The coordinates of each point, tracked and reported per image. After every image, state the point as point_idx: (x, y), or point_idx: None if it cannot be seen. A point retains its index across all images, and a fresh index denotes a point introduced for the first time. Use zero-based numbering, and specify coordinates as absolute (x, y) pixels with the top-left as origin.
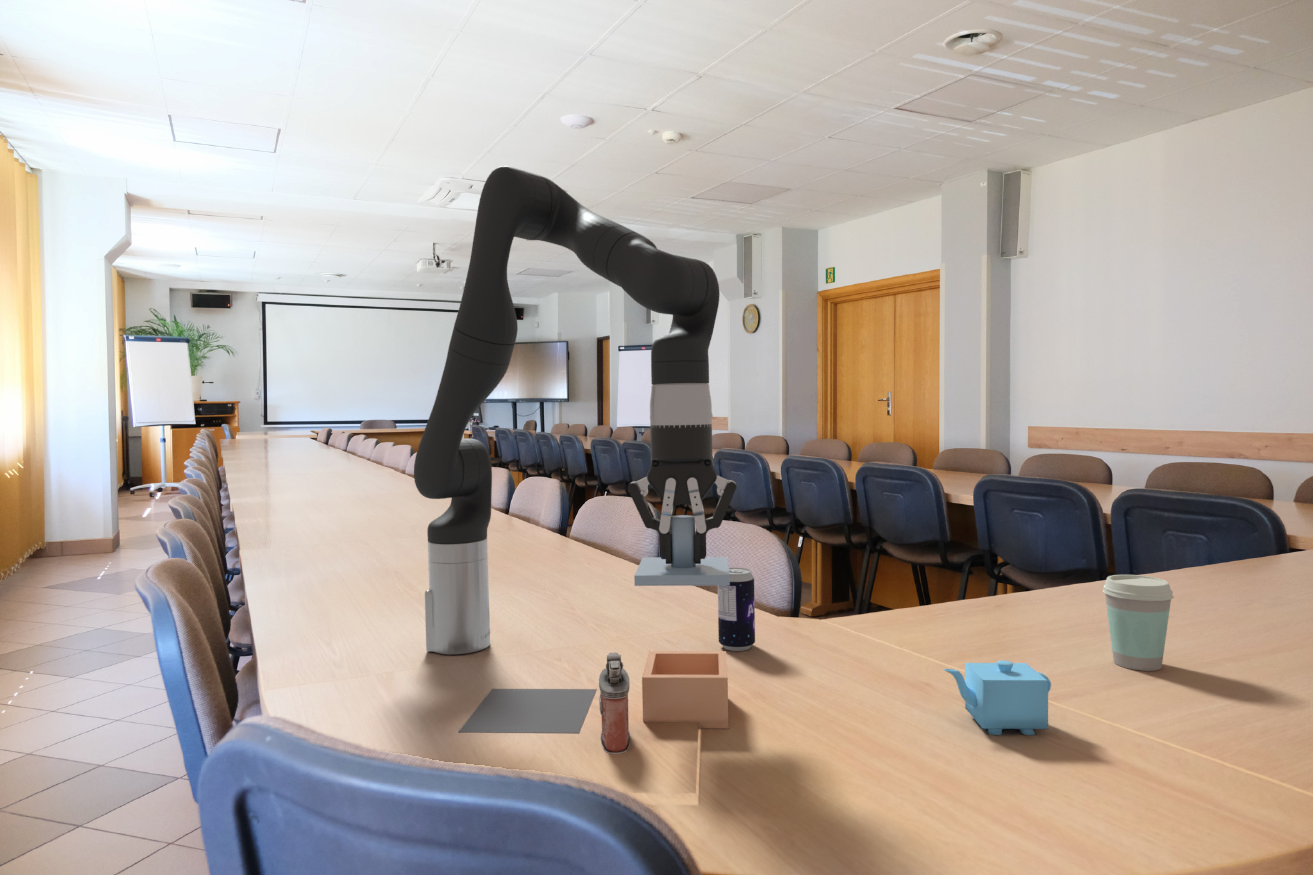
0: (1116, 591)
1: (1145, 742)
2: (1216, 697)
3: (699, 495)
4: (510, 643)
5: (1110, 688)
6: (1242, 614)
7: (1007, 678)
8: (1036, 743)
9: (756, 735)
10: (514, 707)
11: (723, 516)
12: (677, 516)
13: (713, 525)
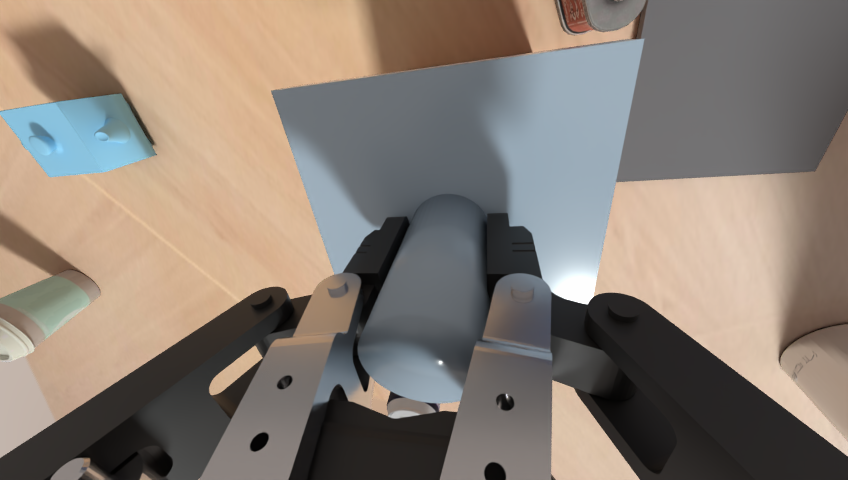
0: (2, 328)
1: (3, 98)
2: (6, 214)
3: (215, 451)
4: (742, 359)
5: (79, 231)
6: (62, 373)
7: (36, 113)
8: (79, 79)
9: (365, 51)
10: (779, 85)
11: (207, 324)
12: (452, 378)
13: (280, 296)
